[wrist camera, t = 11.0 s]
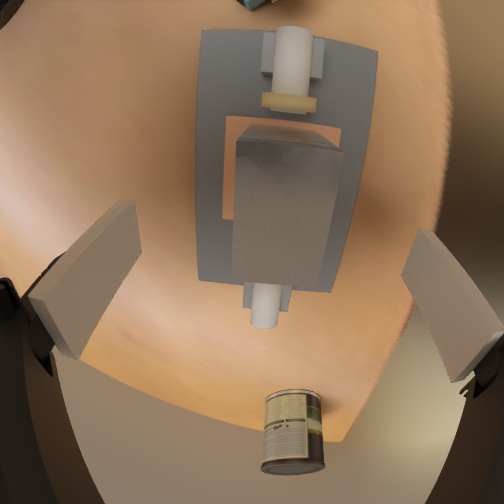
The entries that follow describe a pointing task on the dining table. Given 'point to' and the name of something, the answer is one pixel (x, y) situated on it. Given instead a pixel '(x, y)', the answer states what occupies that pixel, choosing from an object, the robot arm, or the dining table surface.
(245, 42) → the coupling stand
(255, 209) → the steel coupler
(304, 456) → the coffee can
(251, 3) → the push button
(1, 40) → the dining table surface
